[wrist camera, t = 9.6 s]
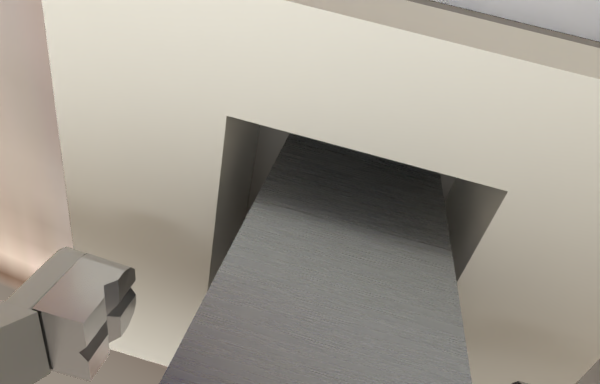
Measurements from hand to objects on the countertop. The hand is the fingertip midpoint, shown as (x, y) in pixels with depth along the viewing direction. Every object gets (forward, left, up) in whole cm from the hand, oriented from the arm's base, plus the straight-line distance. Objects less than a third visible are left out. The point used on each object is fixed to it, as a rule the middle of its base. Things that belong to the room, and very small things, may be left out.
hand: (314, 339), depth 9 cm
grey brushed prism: (0, 0, -6) cm, 6 cm away
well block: (0, 0, -7) cm, 7 cm away
